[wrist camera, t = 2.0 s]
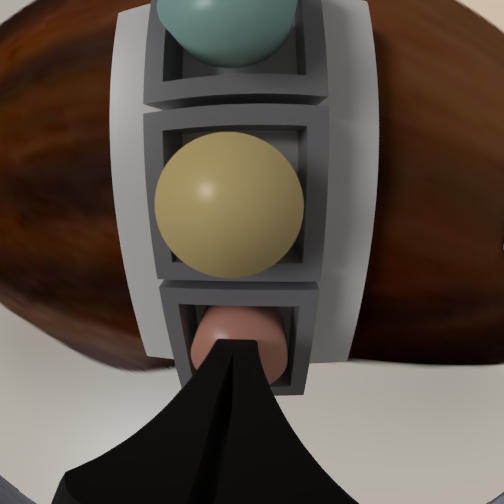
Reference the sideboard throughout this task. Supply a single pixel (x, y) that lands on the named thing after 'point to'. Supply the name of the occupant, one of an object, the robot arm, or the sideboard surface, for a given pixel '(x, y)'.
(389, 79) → the sideboard surface
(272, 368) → the brick button
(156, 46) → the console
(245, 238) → the ochre button
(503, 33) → the sideboard surface
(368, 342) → the sideboard surface
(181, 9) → the teal button
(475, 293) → the sideboard surface
